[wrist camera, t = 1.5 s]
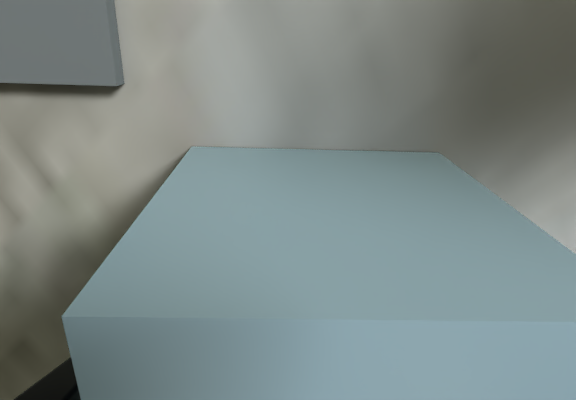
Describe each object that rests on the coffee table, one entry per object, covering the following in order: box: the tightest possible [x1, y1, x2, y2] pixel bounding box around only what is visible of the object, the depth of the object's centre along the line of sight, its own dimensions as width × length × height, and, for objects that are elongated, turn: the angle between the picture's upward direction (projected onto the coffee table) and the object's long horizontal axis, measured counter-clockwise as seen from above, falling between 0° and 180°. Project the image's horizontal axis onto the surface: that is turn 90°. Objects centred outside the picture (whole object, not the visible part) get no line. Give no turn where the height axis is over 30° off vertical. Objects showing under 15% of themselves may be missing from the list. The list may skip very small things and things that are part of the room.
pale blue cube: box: [61, 147, 576, 400], centre depth 9 cm, size 7×7×7 cm
